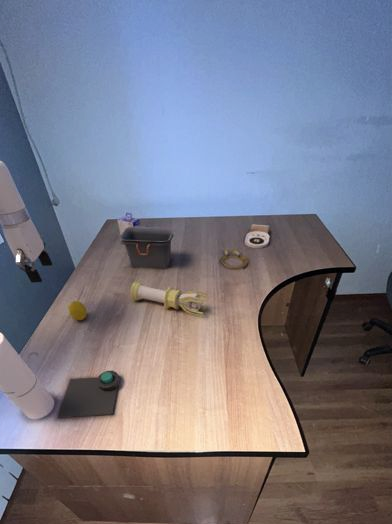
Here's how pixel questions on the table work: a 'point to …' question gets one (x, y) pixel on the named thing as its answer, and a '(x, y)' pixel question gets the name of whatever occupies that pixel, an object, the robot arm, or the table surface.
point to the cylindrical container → (22, 383)
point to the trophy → (170, 297)
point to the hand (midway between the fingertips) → (42, 273)
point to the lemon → (77, 310)
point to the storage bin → (148, 246)
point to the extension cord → (235, 252)
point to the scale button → (107, 378)
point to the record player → (257, 236)
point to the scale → (89, 397)
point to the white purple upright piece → (127, 222)
